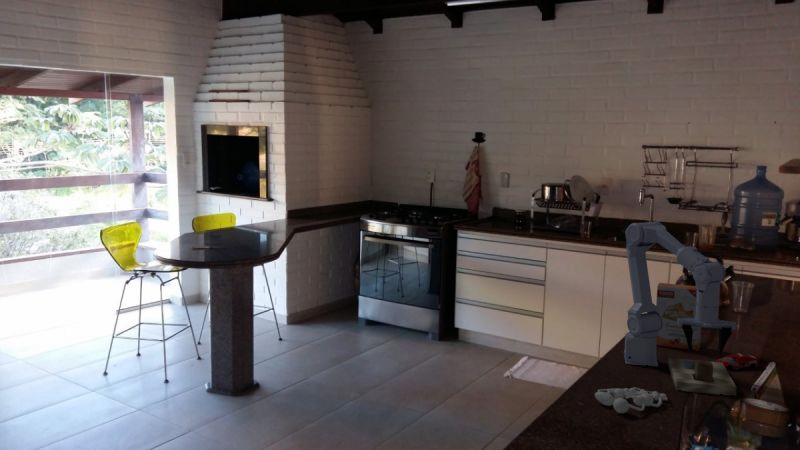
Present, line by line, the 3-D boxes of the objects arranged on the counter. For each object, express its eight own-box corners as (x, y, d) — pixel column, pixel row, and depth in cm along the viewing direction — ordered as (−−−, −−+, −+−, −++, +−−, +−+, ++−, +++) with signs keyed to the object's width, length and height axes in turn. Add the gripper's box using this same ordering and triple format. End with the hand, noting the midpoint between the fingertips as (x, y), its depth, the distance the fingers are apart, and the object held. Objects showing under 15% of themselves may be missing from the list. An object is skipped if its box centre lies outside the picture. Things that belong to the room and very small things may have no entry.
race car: (722, 372, 191) (723, 359, 190) (711, 366, 196) (711, 353, 196) (762, 369, 193) (762, 356, 192) (749, 363, 198) (750, 350, 198)
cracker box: (653, 346, 215) (656, 285, 212) (655, 341, 220) (658, 282, 217) (699, 352, 208) (702, 289, 205) (700, 346, 213) (703, 285, 211)
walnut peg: (696, 388, 178) (697, 364, 177) (694, 383, 182) (695, 359, 181) (711, 389, 177) (713, 365, 176) (709, 384, 180) (710, 361, 180)
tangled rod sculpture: (641, 392, 179) (641, 377, 179) (681, 407, 166) (681, 391, 166) (585, 401, 172) (585, 386, 172) (623, 418, 158) (623, 401, 158)
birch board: (676, 390, 177) (676, 381, 176) (668, 366, 196) (668, 357, 195) (736, 396, 172) (736, 386, 172) (721, 370, 191) (722, 362, 191)
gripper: (680, 307, 174) (678, 354, 176) (739, 310, 170) (736, 359, 172) (677, 301, 181) (675, 347, 183) (733, 304, 177) (731, 351, 179)
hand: (704, 352), depth 178 cm, fingers open, 7 cm apart
